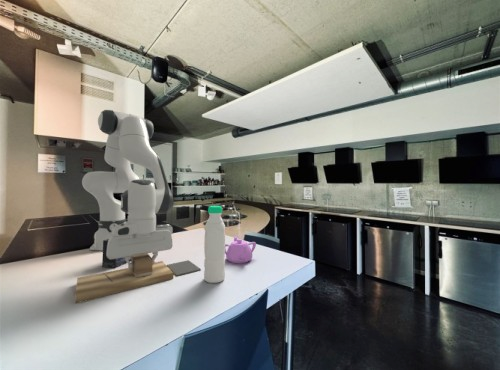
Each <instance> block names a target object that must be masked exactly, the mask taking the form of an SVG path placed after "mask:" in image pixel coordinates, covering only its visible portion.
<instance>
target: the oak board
mask: <svg viewBox="0 0 500 370" xmlns="http://www.w3.org/2000/svg"><path fill="white" fill-rule="evenodd" d="M174 276H175V274H174V273H173V272H172V271H171V270H170V269H169V268H168V267H167V264H166V263H164V262H163V260H161V261H157V262H155V261H154V265H153V266H152V274H150V275H146V276H141V277H137V278H136V277H135V276H134V274H133V272H132V270H131V269H130V270H129V269H128V267H126V268H120V269H116V270H111V271H105V272H101V273H96V274H90V275H87V276H86V275H85V276H81V277H77V279H76V286H75V287H76V288H75V303H74V304H78V303H83V302H86V301H90V300H95V299H98V298H103V297H105V296H110V295H113V294H118V293H122V292H126V291H130V290H134V289H138V288H141V287H146V286H149V285H153V284H157V283H160V282H161V283H162V282H165V281H169V280H173V279H174Z"/></svg>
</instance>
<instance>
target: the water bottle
mask: <svg viewBox="0 0 500 370" xmlns="http://www.w3.org/2000/svg"><path fill="white" fill-rule="evenodd" d="M207 213H208V215H209V217H208V219H207V221H206V223H205V226H204V243H203V244H204V247H203V248H204V262H203V267H204V271H203V279H204V281H205V282H206V283H208V284H209V283H210V284H217V283H221V282H223V281H224V280H225V278H226V269H225V266H226V259H225V258H226V254H225V249H226V247H225V244H226V232H225V231H226V225H225V222H224V221H223V218H222V214H223V207H222V206H221V205H210V206H208V208H207Z"/></svg>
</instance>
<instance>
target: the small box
mask: <svg viewBox="0 0 500 370" xmlns="http://www.w3.org/2000/svg"><path fill="white" fill-rule="evenodd" d="M108 240H109V239H106V240H103V251H102V263H101V267H102V268H108V269H109V268H111V269H116V268H119V267H120V266H123V265H125V264H128V263H127V262H126V260H125V257H123V258H117V259H111V260H110V259H108V258H107V255H106V253H107V244H108ZM129 261H130V262H131V256H130V259H129Z"/></svg>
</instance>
